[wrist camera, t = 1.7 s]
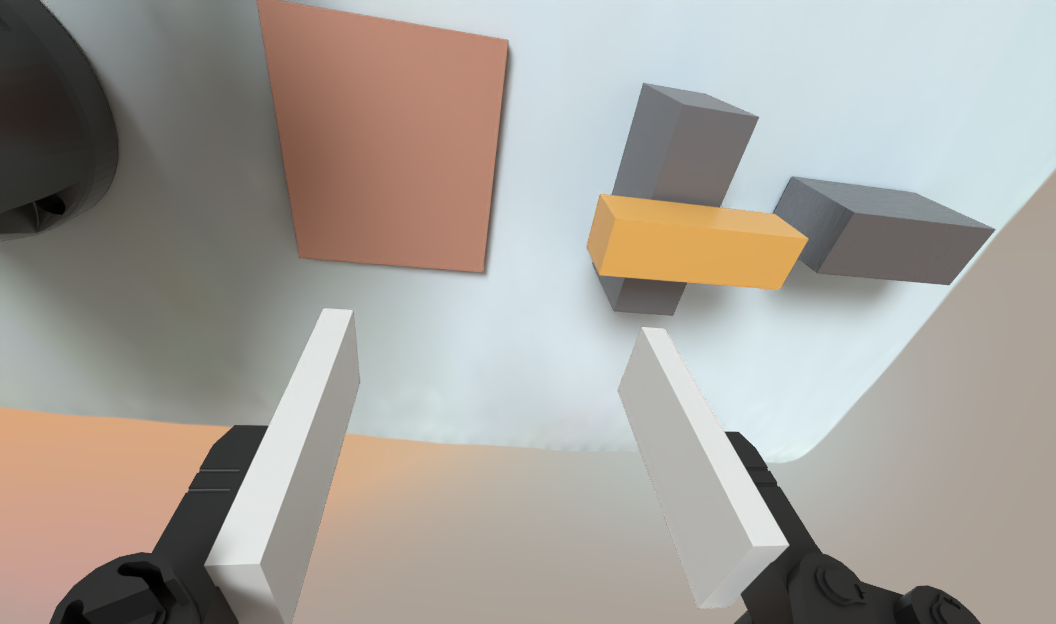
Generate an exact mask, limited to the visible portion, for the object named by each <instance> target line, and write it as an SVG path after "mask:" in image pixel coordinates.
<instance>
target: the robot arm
mask: <svg viewBox="0 0 1056 624" xmlns="http://www.w3.org/2000/svg"><path fill="white" fill-rule="evenodd" d="M117 158H118V144H117V135H116V129H115V124H114V120H113V117H112V113H111V110H110V107H109V105H108V102H107V100H106V97H105V95H104V92H103V90H102V88H101V86H100V84H99V82H98V80H97V78H96V76H95V75H94V73H93V71H92V69H91V68H90V66H89V64H88V63H87V61H86V60H85V58H84V56H83V55H82V54H81V52H80V51H79V49H78V48H77V46H76V45H75V43H74V42H73V41H72V40H71V38H70V37H69V36H68V34H67V33H66V32H65V30H64V29H63V28H62V27H61V26H60V24H59V23H58V22H57V21H56V20H55V19H54V17H53V16H52V15H51V14H50V13H49V12H48V11H47V10H46V9H45V8H44V6H43V5H42V4H41V3H40V2H39V1H38V0H0V241H5V240H11V239H18V238H24V237H29V236H33V235H36V234H39V233H42V232H45V231H48V230H51V229H53V228H56V227H58V226H60V225H61V224H63V223H65V222H67V221H69V220H70V219H72V218H74V217H76V216H77V215H79V214H81V213H83V212H85V211H86V210H88V209H89V208H91V207H92V206H93V205H95V204H96V203H97V202H98V201H99V200H100V199H101V198H102V197H103V195H104V194H105V193H106V191H107V190H108V188H109V186H110V184H111V182H112V180H113V177H114V174H115V170H116V166H117ZM359 384H360V376H359V365H358V354H357V344H356V333H355V323H354V312H353V310H345V309H328V308H323V311H322V313H321V315H320V317H319V319H318V321H317V324H316V326H315V328H314V330H313V332H312V334H311V336H310V339H309V341H308V343H307V345H306V347H305V349H304V351H303V354H302V356H301V358H300V360H299V362H298V364H297V367H296V369H295V371H294V373H293V375H292V377H291V379H290V382H289V384H288V386H287V388H286V390H285V392H284V394H283V397H282V399H281V401H280V403H279V405H278V407H277V410H276V412H275V414H274V416H273V418H272V420H271V422H270V425H269V426H253V425H235V426H233V427H232V428H231V429H230V430H229V431H228V432H227V433H226V434H225V435H224V436H222V437H221V438H220V439H219V440H218V441H217V442H216V443H215V444H214V445H213V446H212V448H211V449H210V451H209V453H208V455H207V457H206V458H205V460H204V462H203V464H202V465H201V467H200V471H199V473H197V474H196V476H195V478H194V479H193V481H192V483H191V485H190V486H189V491H188V493H185V495H184V497H183V499H182V501H181V502H180V504H179V506H178V508H177V509H176V511H175V513H174V515H173V516H172V518H171V520H170V522H169V523H168V525H167V527H166V529H165V530H164V532H163V534H162V536H161V537H160V539H159V541H158V543H157V544H156V546H155V548H154V550H153V551H152V553H144V552H141V553H136V554H131V555H126V556H122V557H119V558H117V559H114V560H112V561H110V562H108V563H106V564H105V565H102V566H100V567H98V568H96V569H95V570H94V571H92V572H91V573H90V574H88V575H87V576H86V577H84V578H83V579H82V580H81V581H79V582H78V583H77V584H76V585H74V586H73V588H72V589H71V590H70V591H69V592H68V593H67V595H66V596H65V597H64V598H63V600H62V601H61V602H60V603H59V604H58V605H57V607H56V609H55V612H54V614H53V616H52V619H51V621H50V623H49V624H292V620H293V617H294V613H295V610H296V606H297V603H298V599H299V596H300V592H301V588H302V585H303V582H304V578H305V575H306V571H307V568H308V564H309V560H310V557H311V553H312V550H313V546H314V543H315V539H316V536H317V532H318V529H319V525H320V522H321V518H322V514H323V511H324V508H325V504H326V500H327V497H328V493H329V490H330V486H331V483H332V479H333V476H334V472H335V469H336V465H337V462H338V458H339V455H340V451H341V447H342V444H343V441H344V436H345V433H346V430H347V426H348V423H349V419H350V416H351V412H352V409H353V405H354V402H355V398H356V395H357V391H358V388H359ZM618 393H619V395H620V398H621V401H622V404H623V406H624V409H625V412H626V415H627V417H628V420H629V423H630V425H631V428H632V431H633V434H634V436H635V439H636V442H637V444H638V447H639V450H640V453H641V455H642V458H643V461H644V463H645V466H646V469H647V472H648V474H649V477H650V480H651V482H652V485H653V488H654V491H655V493H656V496H657V499H658V501H659V504H660V507H661V509H662V512H663V515H664V518H665V520H666V523H667V526H668V529H669V531H670V534H671V537H672V539H673V542H674V545H675V548H676V550H677V553H678V556H679V558H680V561H681V564H682V567H683V569H684V572H685V575H686V578H687V580H688V582H689V586H690V588H691V591H692V594H693V596H694V599H695V602H696V605H697V607H698V609H704V608H720V607H730V606H731V604H733V602H735V600H736V599H737V598H738V597H739V596H740V595H741V596H742V598H743V600H744V603H745V605H746V607H747V609H748V610H747V611H746V612H745V613H744V614H743V615H742V616H741V617H740V618H739V619H738V620H737V621H736V622H735V623H734V624H981V623H980V622H979V621H978V620H977V619H976V617H975V616H974V615H973V614H972V613H971V612H970V611H969V610H968V609H967V608H966V607H965V606H964V605H962V604H961V603H960V602H959V601H958V600H957V599H955V598H953V597H952V596H950V595H949V594H947V593H945V592H944V591H942V590H939V589H937V588H934V587H930V586H917V587H915V588H914V589H912V590H911V591H910V592H908V593H907V594H905V595H902V594H899V593H896V592H892V591H889V590H886V589H883V588H880V587H876V586H873V585H870V584H867V583H864V582H861V581H860V580H859V578H858V577H857V576H856V575H855V573H854V572H852V571H851V570H850V569H849V568H848V567H846V566H845V565H844V564H843V563H842V562H840V561H838V560H836V559H835V558H832V557H831V556H829V555H826V554H823V553H822V552H821V551H820V549H819V548H818V547H817V545H816V544H815V542H814V541H813V539H812V537H811V536H810V534H809V533H808V531H807V530H806V528H805V526H804V525H803V523H802V521H801V520H800V518H799V517H798V515H797V514H796V512H795V510H794V509H793V507H792V506H791V504H790V502H789V501H788V499H787V497H786V496H785V494H784V493H783V491H782V490H781V488H780V487H778V486H777V481H776V480H775V478H774V477H773V475H772V474H771V472H770V471H768V469H767V468H768V467H767V465H766V464H765V462H764V460H763V459H762V457H761V456H760V454H759V452H758V451H757V449H756V448H755V447H754V446H753V445H752V444H751V443H750V442H749V441H748V440H747V439H746V438H745V437H744V436H742V435H741V434H740V433H739V432H724V431H723V429H722V427H721V425H720V424H719V422H718V420H717V418H716V417H715V415H714V413H713V411H712V410H711V408H710V406H709V405H708V403H707V401H706V399H705V398H704V396H703V394H702V392H701V391H700V389H699V387H698V385H697V384H696V382H695V380H694V378H693V377H692V375H691V373H690V371H689V370H688V368H687V366H686V365H685V363H684V361H683V359H682V358H681V356H680V354H679V352H678V351H677V349H676V347H675V345H674V344H673V342H672V340H671V338H670V337H669V335H668V333H667V332H666V330H665V328H649V327H641V330H640V333H639V335H638V338H637V340H636V343H635V346H634V348H633V351H632V354H631V356H630V359H629V362H628V364H627V367H626V369H625V372H624V375H623V377H622V380H621V383H620V385H619V388H618Z"/></svg>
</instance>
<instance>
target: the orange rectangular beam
mask: <svg viewBox="0 0 1056 624" xmlns="http://www.w3.org/2000/svg"><path fill="white" fill-rule="evenodd" d="M807 241H808V238H807V237H806V236H804V235H803V234H802V233H800V232H799V231H798V230H796V229H795V228H793V227H792V226H791V225H789V224H788V223H787V222H785V221H784V220H782V219H781V218H780V217H778V216H777V215H776V214H771V213H763V212H754V211H745V210H737V209H728V208H719V207H710V206H702V205H693V204H684V203H676V202H667V201H658V200H650V199H641V198H632V197H624V196H615V195H606V194H600V196H599V200H598V203H597V207H596V211H595V215H594V219H593V223H592V227H591V231H590V235H589V239H588V242H587V246H586V247H587V249H588V251H589V253H590V256H591V258H592V260H593V262H594V265H595V267H596V269H597V271H598V273H599V275H603V276H615V277H627V278H639V279H652V280H664V281H676V282H689V283H701V284H713V285H726V286H738V287H750V288H763V289H775V290H780V288H781V286H782V285H783V283H784V281H785V279H786V278H787V276H788V274H789V272H790V271H791V269H792V267H793V266H794V264H795V262H796V260H797V259H798V257H799V255H800V253H801V252H802V250H803V248H804V246H805V245H806V243H807Z"/></svg>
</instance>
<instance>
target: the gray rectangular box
mask: <svg viewBox="0 0 1056 624" xmlns="http://www.w3.org/2000/svg"><path fill="white" fill-rule="evenodd" d="M773 214H776V215H777V216H778V217H780V218H781V219H782V220H784V221H785V222H787V223H788V224H789V225H791V226H792V227H793V228H795V229H796V230H798V231H799V232H800V233H802V234H803V235H804V236H806V237H807V238H808V241H807V243H806V245H805V246H804V248H803V250H802V252H801V253H800V255H799V257H798V258H799V259H800V260H801V261H803V262H804V263H805V264H806V265H807V266H809V267H810V268H811V269H812V270H814V271H815V272H816V273H820V274H831V275H842V276H853V277H864V278H875V279H886V280H897V281H908V282H920V283H931V284H942V285H950V284H951V283H952V281H953V280H954V279H955V278H956V277H957V275H958V274H959V273H960V272H961V271H962V269H963V268H964V267H965V266H966V265H967V263H968V262H969V261H970V260H971V259H972V257H973V256H974V255H975V254H976V253H977V251H978V250H979V249H980V248H981V247H982V245H983V244H984V243H985V242H986V241H987V239H988V238H989V237H990V236H991V235H992V233H993V232H994V231H995V230H996V229H994V228H991V227H989V226H987V225H985V224H983V223H980V222H978V221H976V220H974V219H972V218H969V217H967V216H965V215H963V214H961V213H958V212H956V211H954V210H952V209H950V208H947V207H945V206H943V205H941V204H939V203H936V202H934V201H932V200H930V199H927V198H925V197H923V196H921V195H919V194H916V193H912V192H905V191H897V190H890V189H882V188H875V187H867V186H860V185H852V184H845V183H837V182H830V181H822V180H814V179H807V178H799V177H791V179H790V181H789V183H788V185H787V187H786V189H785V191H784V193H783V195H782V197H781V199H780V201H779V203H778V205H777V207H776V209H775V211H774V213H773Z"/></svg>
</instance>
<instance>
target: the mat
mask: <svg viewBox="0 0 1056 624" xmlns="http://www.w3.org/2000/svg"><path fill="white" fill-rule="evenodd" d="M257 5H258V11H259V17H260V23H261V29H262V35H263V41H264V47H265V53H266V59H267V65H268V71H269V77H270V83H271V89H272V96H273V102H274V108H275V114H276V120H277V126H278V132H279V138H280V144H281V150H282V156H283V162H284V168H285V174H286V180H287V186H288V192H289V198H290V204H291V210H292V216H293V223H294V229H295V235H296V241H297V247H298V253H299V258H307V259H320V260H332V261H345V262H358V263H370V264H383V265H396V266H409V267H421V268H434V269H447V270H459V271H472V272H483V267H484V258H485V249H486V240H487V231H488V222H489V212H490V203H491V194H492V185H493V176H494V167H495V157H496V148H497V139H498V130H499V121H500V112H501V102H502V93H503V84H504V75H505V66H506V57H507V48H508V40H506V39H500V38H494V37H488V36H483V35H477V34H471V33H465V32H459V31H454V30H448V29H442V28H436V27H430V26H424V25H419V24H413V23H407V22H401V21H395V20H390V19H384V18H378V17H372V16H366V15H361V14H355V13H349V12H343V11H337V10H332V9H326V8H320V7H314V6H308V5H303V4H297V3H291V2H285V1H279V0H257Z"/></svg>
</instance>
